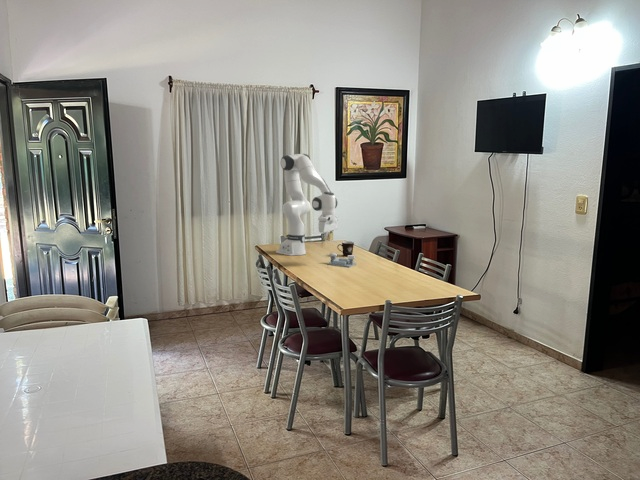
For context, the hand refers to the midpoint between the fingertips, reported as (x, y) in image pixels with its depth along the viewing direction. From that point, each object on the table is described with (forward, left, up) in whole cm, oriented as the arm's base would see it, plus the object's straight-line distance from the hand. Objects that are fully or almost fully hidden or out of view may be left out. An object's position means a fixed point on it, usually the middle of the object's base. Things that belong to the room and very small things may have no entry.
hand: (328, 237), depth 328 cm
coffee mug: (-2, +30, -18) cm, 35 cm away
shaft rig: (+8, +4, -18) cm, 20 cm away
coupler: (0, 0, -2) cm, 2 cm away
